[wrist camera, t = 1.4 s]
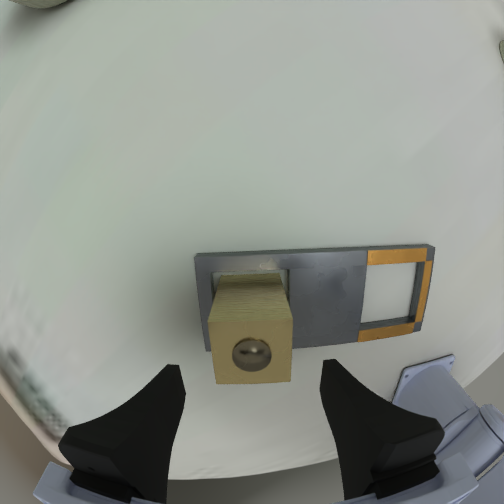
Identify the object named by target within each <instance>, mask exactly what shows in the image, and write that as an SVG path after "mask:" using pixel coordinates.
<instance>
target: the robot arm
mask: <svg viewBox="0 0 504 504" xmlns="http://www.w3.org/2000/svg"><path fill="white" fill-rule="evenodd" d="M454 360H455V356H454V355H450V356H447V357H444V358H441V359H437V360H434V361H431V362H427V363H424V364H420V365H416V366H412V367H409V368H406V369H405V370H404V371H403V373H402V376H401V379H400V382H399V385H398V388H397V391H396V393H395V396H394V399H393V401H392V403H390V402H388V401H386V400H385V399H383V398H381V397H380V396H378V395H376V394H375V393H373V392H372V391H371V390H369V389H368V388H367V387H365V386H364V385H363V384H362V383H360V382H359V381H358V380H357V379H356V378H355V377H354V376H353V375H351V374H350V373H349V372H348V371H347V370H346V369H345V368H344V367H343V366H342V365H341V364H340V363H339V362H338V361H337V360H336V359H330V360H323V368H322V375H321V382H320V394H321V399H322V404H323V408H324V410H325V413H326V416H327V419H328V422H329V425H330V428H331V430H332V433H333V436H334V439H335V443H336V447H337V452H338V457H339V462H340V468H341V474H342V482H343V490H344V500H345V501H341V502H336V503H331V504H504V455H503V458H502V459H501V460H500V461H499V462H498V463H497V464H496V465H495V466H493V467H492V468H491V469H490V470H489V471H488V472H487V473H486V474H485V475H483V476H482V477H481V478H480V479H479V480H476V477H477V476H478V475H479V474H480V473H482V472H483V471H484V470H485V469H486V468H487V467H488V466H489V465H491V464H492V463H493V462H494V461H495V460H496V459H497V458H498V457H499V456H500V455H501V454H502V453H503V452H504V415H503V414H502V413H501V412H500V411H499V410H498V409H497V408H496V407H495V406H494V405H492V404H487V405H483V406H482V407H481V408H479V407H478V406H477V405H476V404H475V403H474V401H473V400H472V399H471V398H470V396H469V395H468V394H467V393H466V392H465V390H464V389H463V388H462V387H461V386H460V385H459V383H458V382H457V381H456V380H455V379H454V378H453V376H452V375H451V374H450V370H451V368H452V365H453V362H454ZM185 396H186V392H185V388H184V384H183V380H182V376H181V372H180V367H179V365H171V364H167V365H166V366H165V367H164V368H163V369H162V370H161V371H160V372H159V373H158V374H157V375H156V376H155V377H154V378H153V379H152V380H151V381H150V382H149V383H148V384H147V385H146V386H145V387H144V388H143V389H142V390H140V391H139V392H138V393H137V394H136V395H135V396H133V397H132V398H131V399H129V400H128V401H127V402H125V403H124V404H122V405H121V406H119V407H118V408H116V409H114V410H112V411H110V412H109V413H107V414H105V415H103V416H101V417H98V418H96V419H94V420H91V421H88V422H86V423H82V424H79V425H75V426H72V427H69V428H68V429H67V431H66V432H65V434H64V436H63V437H62V439H61V441H60V442H59V444H58V447H59V450H60V452H61V453H62V455H63V456H64V457H65V458H66V459H67V460H68V462H69V463H70V464H71V465H72V466H73V467H74V470H73V472H71V471H69V470H68V469H66V468H64V467H61V466H59V465H57V464H55V463H53V462H49V464H48V466H47V467H46V469H45V471H44V473H43V475H42V477H41V479H40V480H39V482H38V484H37V486H36V488H35V490H34V492H33V495H34V496H35V497H36V498H38V499H39V500H40V501H41V502H43V503H44V504H166V497H167V481H168V472H169V464H170V457H171V451H172V446H173V442H174V439H175V436H176V432H177V429H178V426H179V423H180V419H181V416H182V413H183V409H184V403H185Z"/></svg>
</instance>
